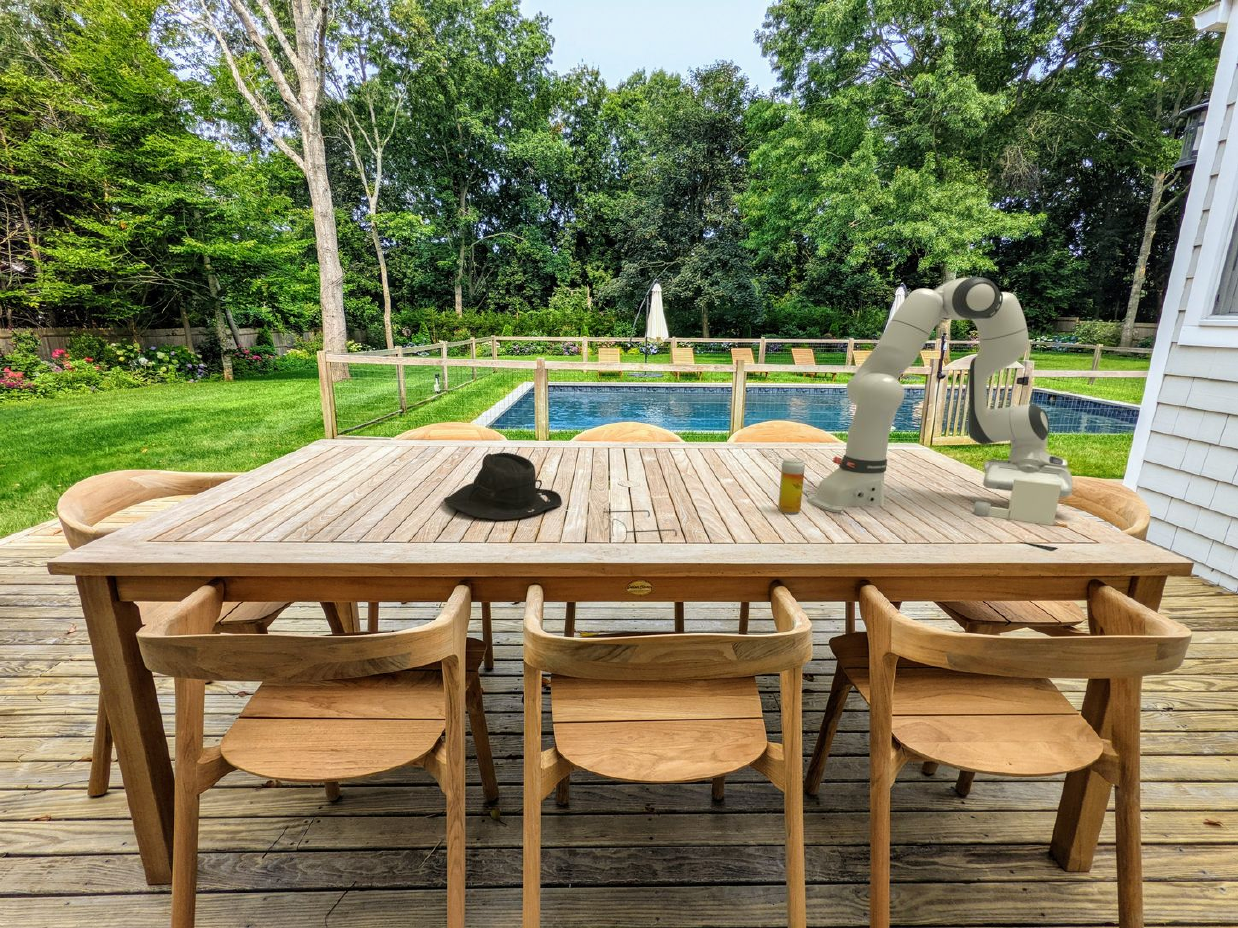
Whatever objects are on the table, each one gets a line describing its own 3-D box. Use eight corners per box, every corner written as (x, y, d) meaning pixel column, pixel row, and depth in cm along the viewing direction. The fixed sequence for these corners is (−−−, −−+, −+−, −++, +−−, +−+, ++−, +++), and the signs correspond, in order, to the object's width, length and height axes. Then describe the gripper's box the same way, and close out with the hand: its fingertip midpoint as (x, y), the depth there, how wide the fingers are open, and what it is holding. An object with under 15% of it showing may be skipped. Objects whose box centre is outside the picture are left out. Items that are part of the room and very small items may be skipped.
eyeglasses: (598, 523, 146) (598, 505, 145) (649, 517, 152) (650, 500, 151) (621, 545, 132) (621, 525, 131) (677, 537, 138) (678, 518, 136)
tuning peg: (973, 514, 154) (980, 476, 152) (973, 511, 157) (979, 473, 155) (1068, 528, 144) (1076, 488, 142) (1065, 524, 147) (1074, 484, 145)
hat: (529, 482, 185) (529, 440, 182) (579, 511, 156) (579, 462, 153) (432, 495, 169) (429, 449, 165) (466, 530, 139) (464, 475, 136)
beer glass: (801, 515, 155) (806, 463, 152) (778, 513, 156) (783, 461, 153) (798, 509, 161) (803, 458, 157) (777, 507, 162) (781, 457, 158)
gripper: (986, 452, 161) (982, 492, 155) (1075, 461, 152) (1074, 504, 146) (982, 464, 166) (978, 503, 160) (1068, 473, 156) (1068, 516, 150)
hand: (1025, 504), depth 153 cm, fingers closed
